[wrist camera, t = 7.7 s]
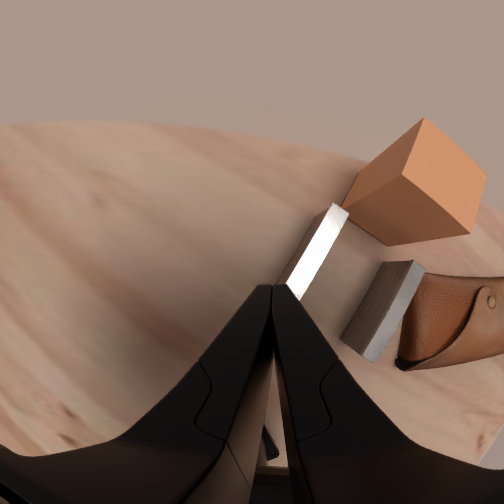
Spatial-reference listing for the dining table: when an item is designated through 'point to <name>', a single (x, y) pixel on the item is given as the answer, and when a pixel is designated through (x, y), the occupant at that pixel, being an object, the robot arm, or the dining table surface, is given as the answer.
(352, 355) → the dining table surface
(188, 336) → the dining table surface
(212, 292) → the dining table surface
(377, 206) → the block
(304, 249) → the silver twin-wall channel
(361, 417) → the robot arm
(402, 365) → the sunglasses case
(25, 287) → the dining table surface
